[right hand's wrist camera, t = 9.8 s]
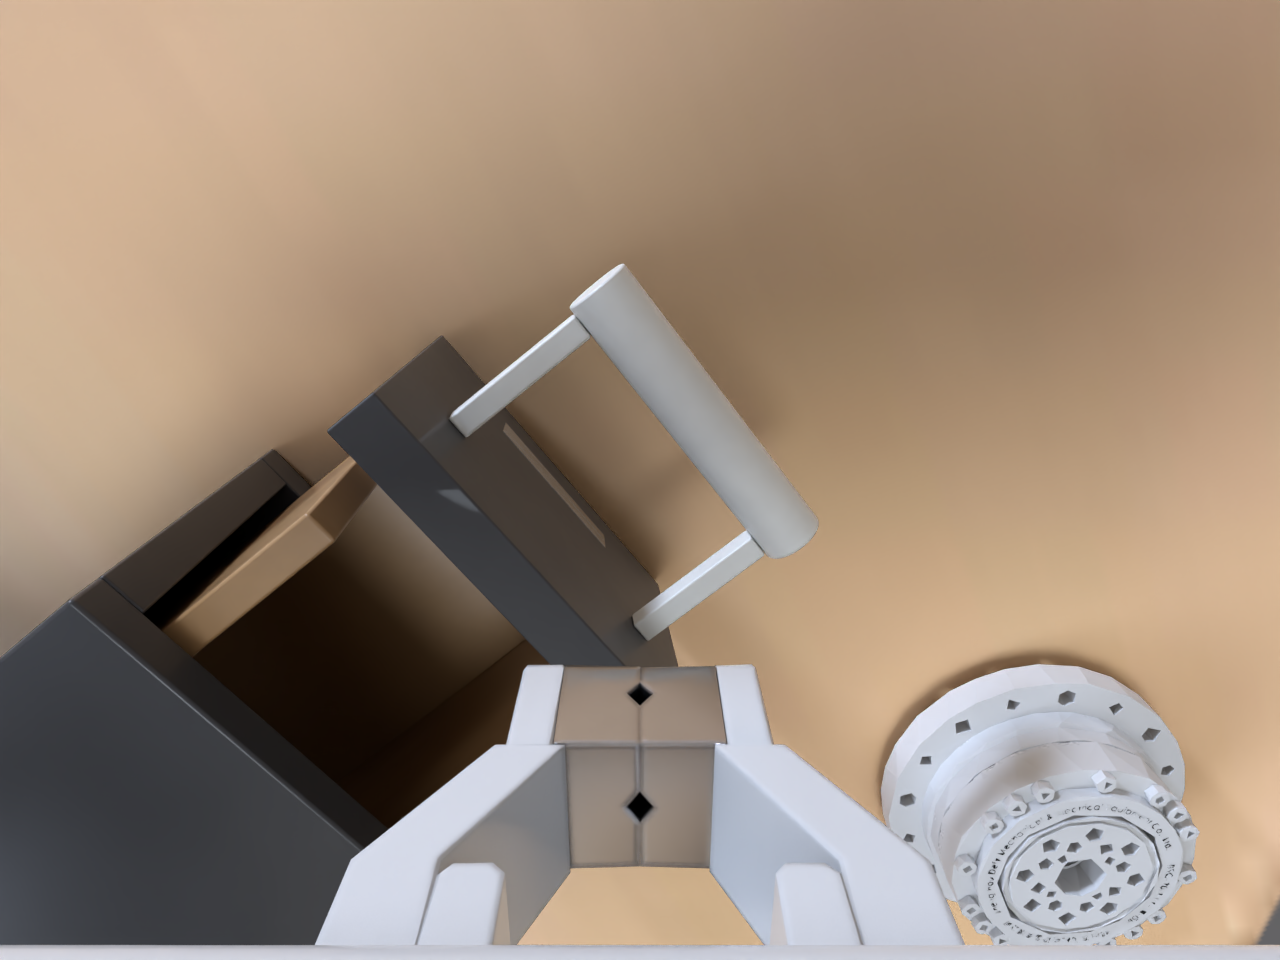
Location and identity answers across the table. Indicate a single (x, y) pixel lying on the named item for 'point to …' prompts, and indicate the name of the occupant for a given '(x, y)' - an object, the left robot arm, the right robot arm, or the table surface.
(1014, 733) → the mechanical component
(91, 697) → the cabinet
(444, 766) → the drawer
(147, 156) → the table surface
